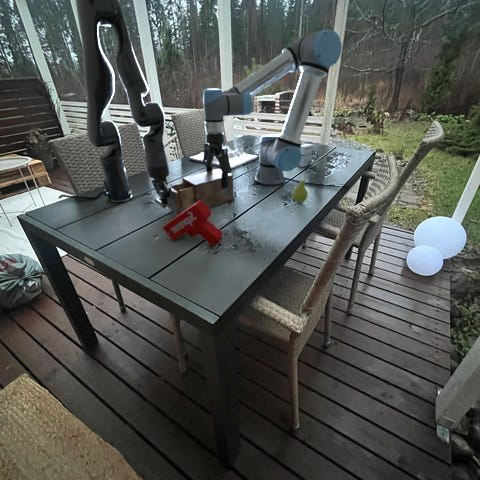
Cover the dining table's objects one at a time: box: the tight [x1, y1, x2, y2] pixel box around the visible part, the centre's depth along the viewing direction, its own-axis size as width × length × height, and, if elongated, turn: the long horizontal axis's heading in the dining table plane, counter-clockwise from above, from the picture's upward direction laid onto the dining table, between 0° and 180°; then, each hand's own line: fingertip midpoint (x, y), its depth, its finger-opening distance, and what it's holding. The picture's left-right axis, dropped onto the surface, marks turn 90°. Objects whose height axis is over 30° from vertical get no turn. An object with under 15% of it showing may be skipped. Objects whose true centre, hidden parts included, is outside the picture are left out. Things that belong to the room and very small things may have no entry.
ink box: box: [297, 143, 314, 168], centre depth 163 cm, size 8×5×12 cm, turn 135°
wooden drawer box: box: [182, 168, 234, 209], centre depth 120 cm, size 19×11×12 cm, turn 129°
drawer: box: [153, 181, 196, 216], centre depth 113 cm, size 23×10×10 cm, turn 129°
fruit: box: [291, 174, 311, 204], centre depth 118 cm, size 7×8×12 cm
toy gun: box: [162, 200, 224, 248], centre depth 93 cm, size 18×4×15 cm
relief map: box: [189, 143, 258, 170], centre depth 177 cm, size 27×35×5 cm
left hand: (165, 205), depth 109 cm, fingers closed
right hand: (217, 184), depth 121 cm, fingers closed on wooden drawer box, 11 cm apart
